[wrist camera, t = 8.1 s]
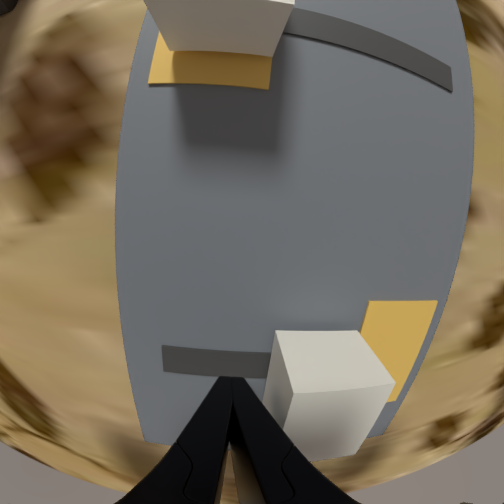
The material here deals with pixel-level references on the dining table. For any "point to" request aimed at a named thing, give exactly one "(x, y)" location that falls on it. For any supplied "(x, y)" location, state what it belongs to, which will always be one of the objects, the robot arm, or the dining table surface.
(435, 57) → the switch panel
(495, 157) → the dining table surface
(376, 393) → the slider
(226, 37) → the slider
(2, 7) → the phone stand
